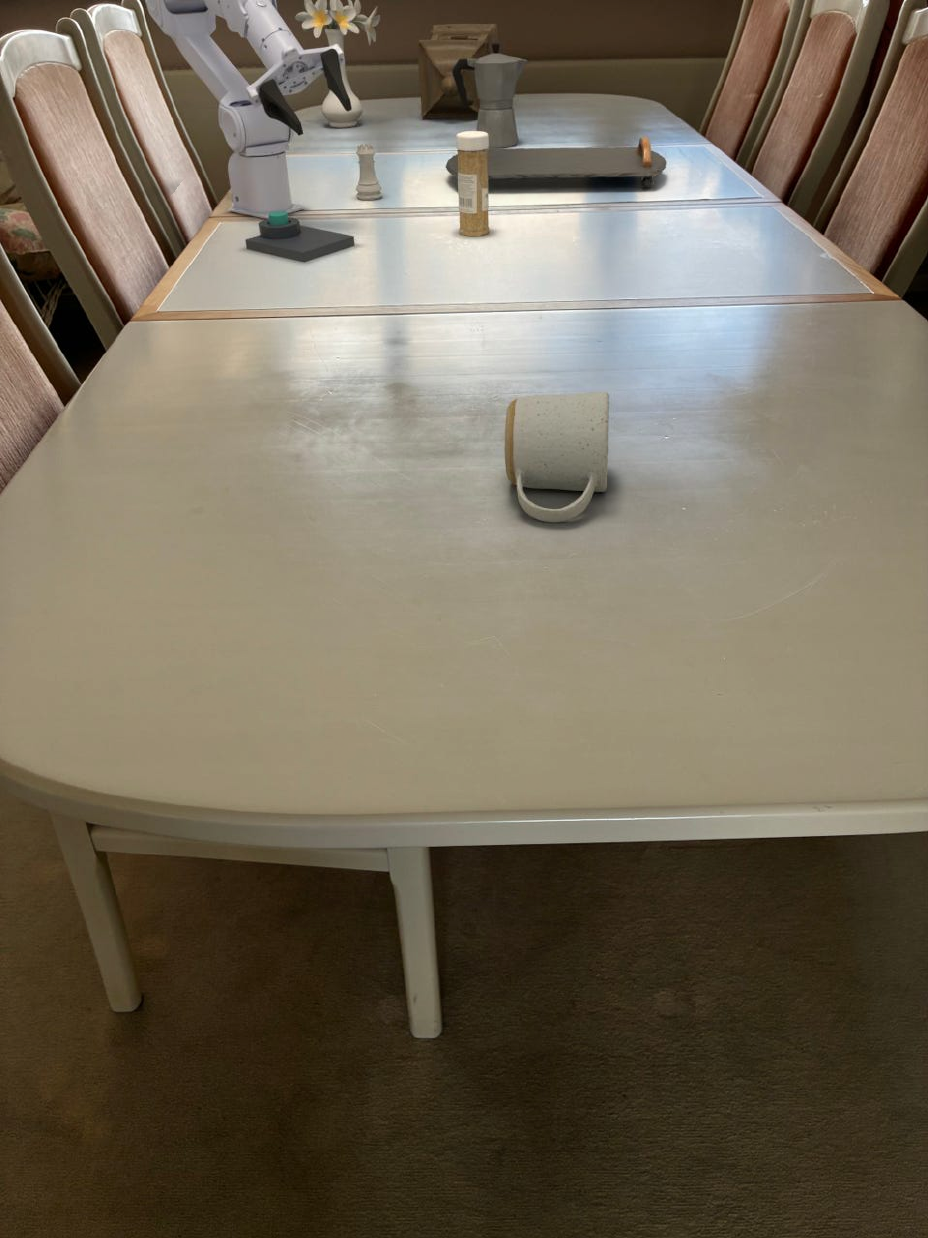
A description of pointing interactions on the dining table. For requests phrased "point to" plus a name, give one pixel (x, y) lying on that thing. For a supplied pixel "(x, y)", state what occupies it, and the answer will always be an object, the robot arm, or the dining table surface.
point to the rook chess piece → (367, 174)
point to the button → (278, 218)
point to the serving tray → (573, 162)
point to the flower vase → (340, 25)
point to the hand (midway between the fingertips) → (324, 117)
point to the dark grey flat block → (297, 241)
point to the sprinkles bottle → (473, 182)
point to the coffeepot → (493, 94)
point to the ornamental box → (451, 68)
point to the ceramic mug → (558, 448)
